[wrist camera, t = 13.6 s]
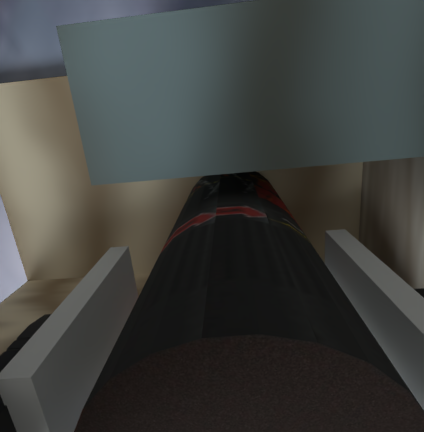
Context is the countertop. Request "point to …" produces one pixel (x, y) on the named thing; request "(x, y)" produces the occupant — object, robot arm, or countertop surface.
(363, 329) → the deodorant
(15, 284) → the countertop surface
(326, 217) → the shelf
